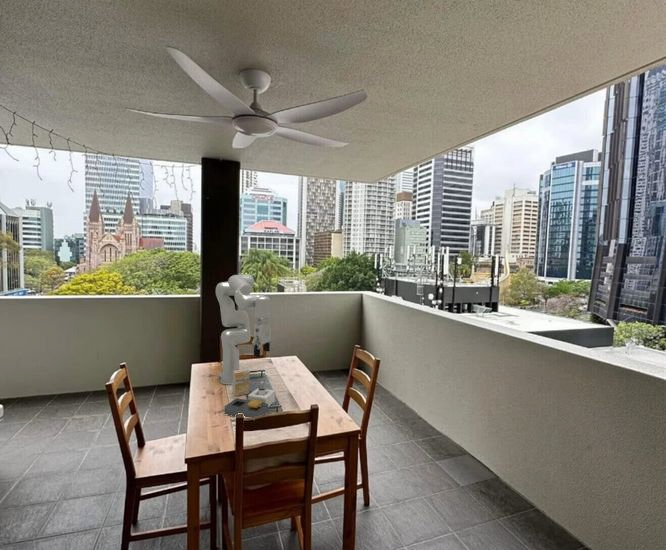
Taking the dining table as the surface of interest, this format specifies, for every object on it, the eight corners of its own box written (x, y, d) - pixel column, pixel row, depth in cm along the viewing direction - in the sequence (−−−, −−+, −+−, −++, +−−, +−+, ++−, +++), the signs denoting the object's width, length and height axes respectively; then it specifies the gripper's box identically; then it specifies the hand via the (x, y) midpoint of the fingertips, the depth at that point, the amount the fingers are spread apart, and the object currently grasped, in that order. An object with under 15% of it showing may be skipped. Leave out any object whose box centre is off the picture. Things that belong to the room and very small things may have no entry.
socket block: (224, 414, 162) (224, 406, 161) (236, 405, 171) (236, 398, 171) (257, 421, 156) (257, 412, 156) (268, 411, 166) (268, 403, 166)
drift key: (247, 413, 161) (247, 403, 160) (253, 409, 165) (253, 399, 165) (256, 415, 159) (256, 405, 159) (262, 410, 164) (262, 400, 164)
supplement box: (234, 397, 182) (234, 373, 181) (232, 393, 186) (232, 370, 185) (249, 394, 186) (249, 370, 185) (247, 390, 190) (247, 368, 189)
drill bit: (256, 405, 173) (257, 382, 172) (260, 402, 176) (260, 379, 175) (263, 406, 171) (263, 383, 171) (266, 403, 175) (266, 380, 174)
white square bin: (247, 406, 170) (247, 395, 170) (258, 398, 180) (258, 387, 180) (265, 410, 167) (265, 398, 167) (274, 401, 177) (275, 390, 177)
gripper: (260, 324, 162) (259, 359, 163) (276, 318, 179) (276, 350, 180) (246, 323, 164) (246, 357, 166) (264, 317, 181) (263, 348, 182)
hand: (261, 353), depth 173 cm, fingers open, 9 cm apart
